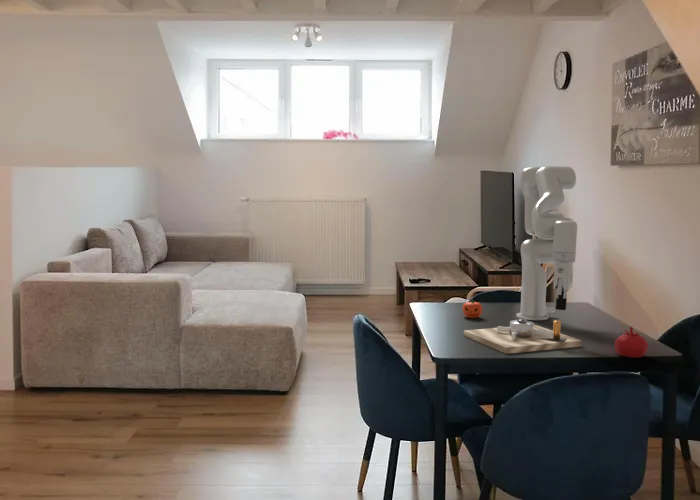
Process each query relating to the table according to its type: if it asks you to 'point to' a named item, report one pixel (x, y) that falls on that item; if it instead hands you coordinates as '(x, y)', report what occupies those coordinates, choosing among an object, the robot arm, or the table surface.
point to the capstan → (530, 329)
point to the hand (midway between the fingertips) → (560, 309)
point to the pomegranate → (631, 345)
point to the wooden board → (520, 341)
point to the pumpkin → (472, 309)
